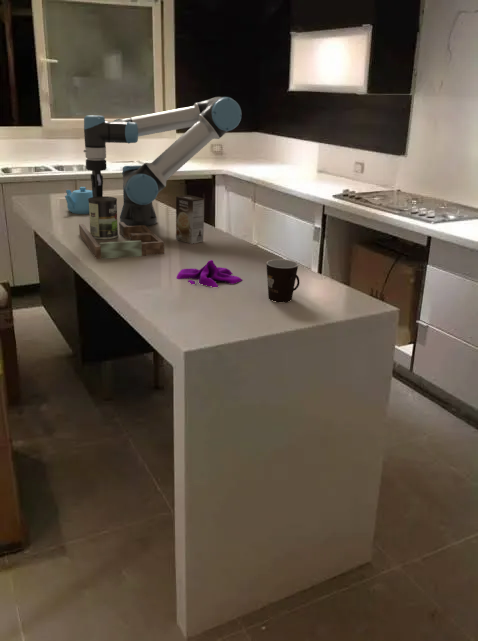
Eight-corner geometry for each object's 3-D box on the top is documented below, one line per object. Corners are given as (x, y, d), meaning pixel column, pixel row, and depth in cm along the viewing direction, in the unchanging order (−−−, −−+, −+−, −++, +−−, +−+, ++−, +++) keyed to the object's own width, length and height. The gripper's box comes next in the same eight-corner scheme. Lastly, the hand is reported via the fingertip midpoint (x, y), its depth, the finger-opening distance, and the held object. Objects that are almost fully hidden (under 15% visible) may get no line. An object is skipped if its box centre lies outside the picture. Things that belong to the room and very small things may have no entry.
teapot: (102, 215, 268) (100, 189, 264) (66, 215, 265) (64, 190, 261) (101, 208, 282) (100, 184, 278) (67, 208, 279) (65, 184, 275)
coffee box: (175, 239, 230) (174, 196, 224) (187, 237, 235) (187, 194, 229) (191, 244, 224) (192, 199, 219) (204, 241, 229) (205, 198, 223)
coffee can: (122, 234, 235) (121, 197, 230) (111, 240, 225) (110, 201, 220) (96, 232, 237) (95, 195, 232) (85, 238, 227) (83, 199, 222)
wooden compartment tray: (139, 231, 241) (139, 218, 239) (164, 254, 210) (164, 239, 208) (79, 234, 232) (78, 221, 231) (96, 259, 201) (95, 244, 200)
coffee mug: (262, 293, 174) (264, 259, 170) (293, 293, 174) (295, 259, 171) (268, 307, 163) (270, 271, 159) (300, 307, 164) (303, 271, 160)
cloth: (168, 273, 190) (167, 254, 188) (222, 268, 198) (223, 249, 196) (195, 295, 172) (195, 274, 170) (254, 288, 180) (255, 268, 177)
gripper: (83, 157, 234) (86, 218, 243) (88, 161, 223) (91, 225, 232) (102, 156, 237) (105, 218, 245) (109, 161, 226) (111, 224, 234)
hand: (98, 221), depth 238 cm, fingers closed
